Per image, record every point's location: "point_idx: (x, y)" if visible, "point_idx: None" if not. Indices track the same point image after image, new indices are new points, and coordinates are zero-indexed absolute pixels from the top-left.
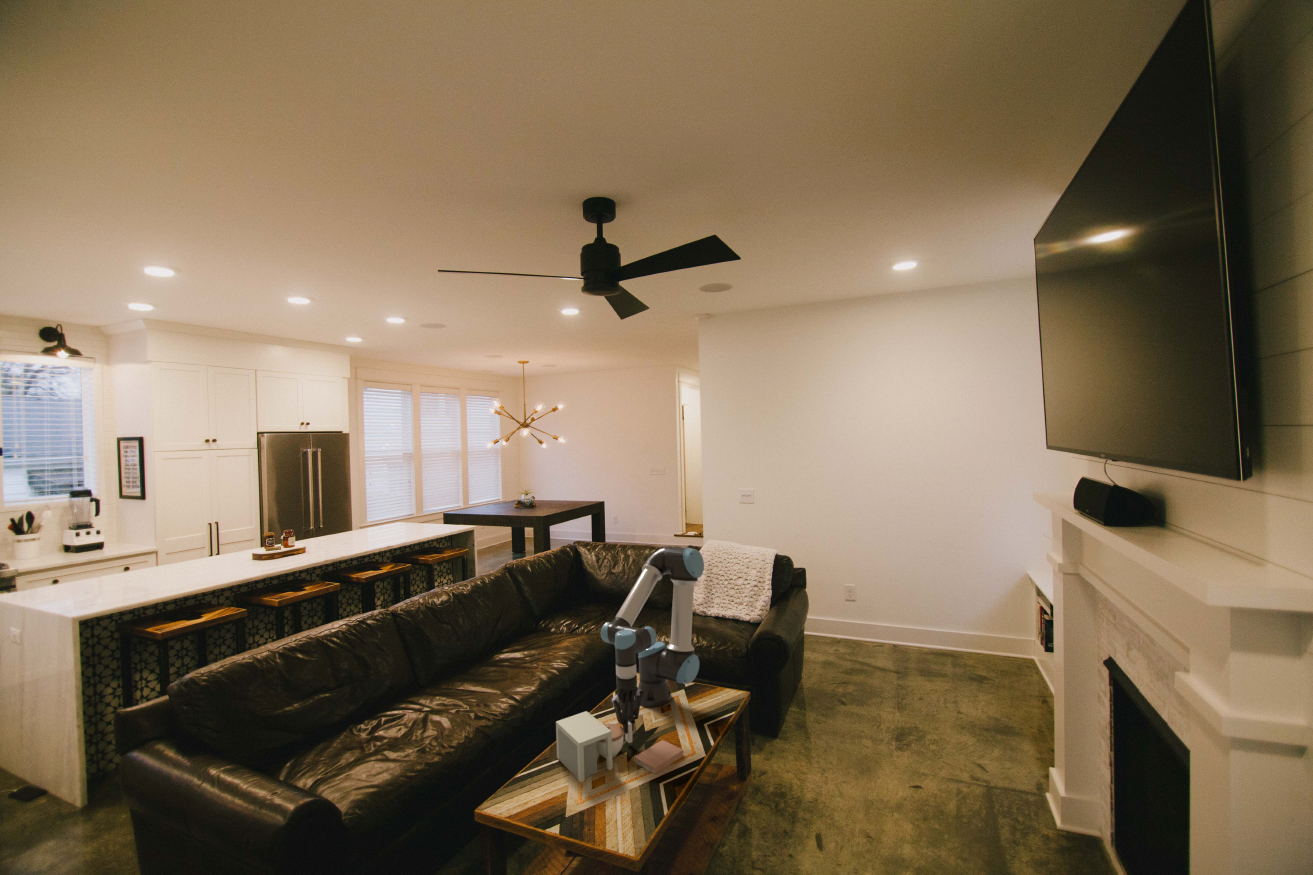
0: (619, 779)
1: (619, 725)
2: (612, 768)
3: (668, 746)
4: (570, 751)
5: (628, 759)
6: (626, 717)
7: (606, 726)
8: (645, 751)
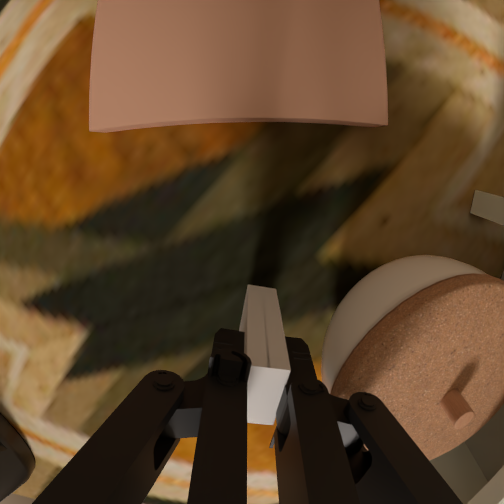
0: (500, 100)
1: None
2: (477, 190)
3: (124, 37)
4: None
5: (374, 180)
6: (323, 436)
7: None
8: (286, 103)
